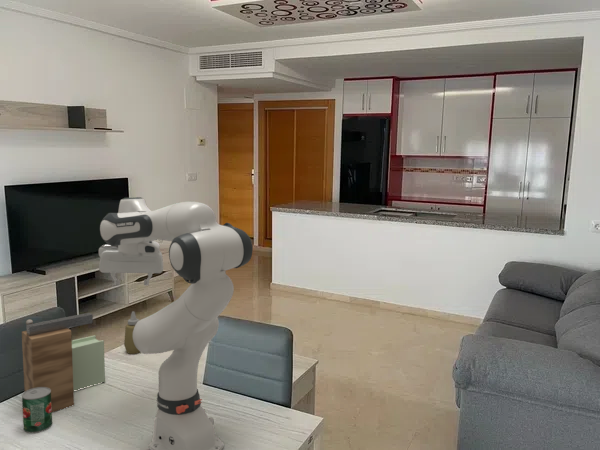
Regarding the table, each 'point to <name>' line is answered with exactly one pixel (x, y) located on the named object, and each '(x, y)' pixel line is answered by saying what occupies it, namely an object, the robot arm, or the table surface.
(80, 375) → the pale green block
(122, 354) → the table surface
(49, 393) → the canned tomato
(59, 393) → the tower
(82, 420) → the table surface
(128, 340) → the squeeze bottle
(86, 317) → the strut
